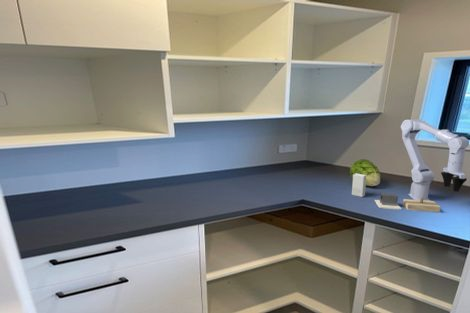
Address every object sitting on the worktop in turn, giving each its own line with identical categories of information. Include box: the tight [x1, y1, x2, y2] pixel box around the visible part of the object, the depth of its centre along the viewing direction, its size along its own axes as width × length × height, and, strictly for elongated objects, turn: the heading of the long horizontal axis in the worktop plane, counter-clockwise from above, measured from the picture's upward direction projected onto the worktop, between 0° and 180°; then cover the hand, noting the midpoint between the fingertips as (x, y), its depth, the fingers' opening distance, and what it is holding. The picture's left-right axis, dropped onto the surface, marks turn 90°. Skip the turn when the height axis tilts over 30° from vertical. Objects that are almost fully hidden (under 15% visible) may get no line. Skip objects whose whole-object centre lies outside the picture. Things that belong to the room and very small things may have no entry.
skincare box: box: [351, 173, 367, 198], centre depth 160 cm, size 6×4×12 cm
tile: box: [374, 199, 402, 210], centre depth 147 cm, size 10×10×1 cm
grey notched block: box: [379, 192, 399, 206], centre depth 147 cm, size 4×7×5 cm, turn 78°
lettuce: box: [349, 158, 381, 187], centre depth 179 cm, size 16×21×15 cm
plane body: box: [402, 198, 441, 213], centre depth 143 cm, size 7×14×6 cm, turn 78°
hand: (451, 188), depth 141 cm, fingers open, 7 cm apart
